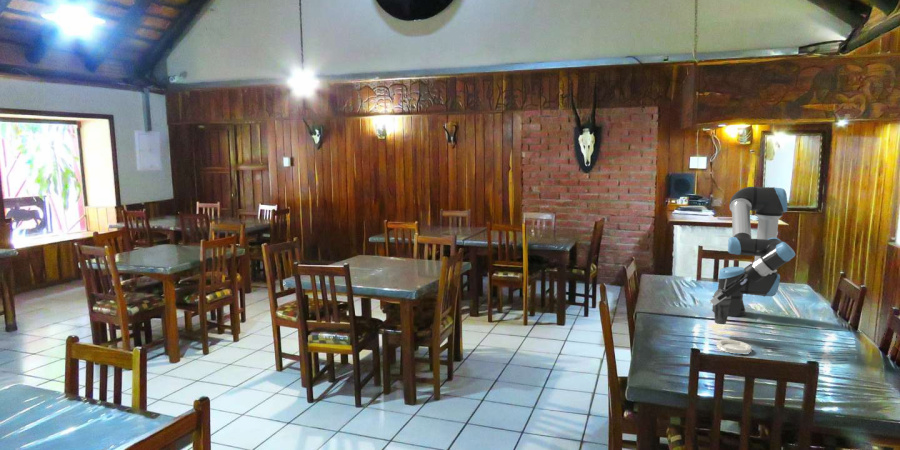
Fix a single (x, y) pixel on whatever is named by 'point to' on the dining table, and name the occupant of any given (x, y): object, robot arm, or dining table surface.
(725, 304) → the beverage cup
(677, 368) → the dining table surface
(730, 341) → the plate
